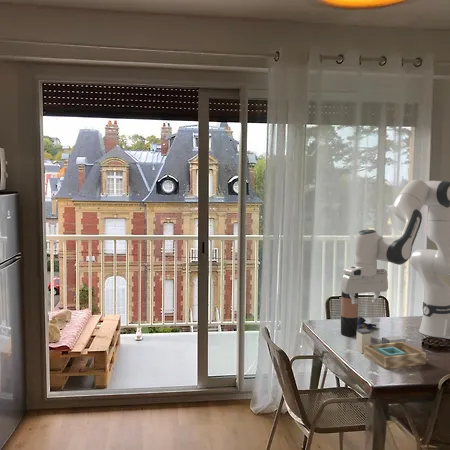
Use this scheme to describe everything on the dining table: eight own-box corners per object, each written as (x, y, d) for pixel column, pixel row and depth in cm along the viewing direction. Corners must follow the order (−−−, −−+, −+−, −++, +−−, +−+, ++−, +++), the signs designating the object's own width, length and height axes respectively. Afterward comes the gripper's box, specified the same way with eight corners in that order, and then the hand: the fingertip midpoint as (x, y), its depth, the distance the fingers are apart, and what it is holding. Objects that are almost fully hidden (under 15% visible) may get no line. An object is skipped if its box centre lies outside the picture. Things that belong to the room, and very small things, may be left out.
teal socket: (393, 355, 186) (393, 346, 185) (405, 361, 179) (406, 353, 178) (377, 357, 183) (377, 348, 183) (389, 363, 176) (389, 354, 176)
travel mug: (357, 337, 211) (359, 293, 209) (340, 336, 212) (341, 292, 211) (356, 332, 218) (357, 290, 217) (339, 331, 220) (341, 289, 218)
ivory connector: (364, 349, 195) (365, 328, 194) (370, 352, 191) (370, 331, 190) (356, 350, 194) (356, 329, 193) (361, 353, 190) (362, 331, 189)
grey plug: (399, 344, 201) (399, 335, 201) (405, 347, 197) (405, 338, 197) (381, 346, 198) (381, 337, 198) (387, 349, 195) (387, 340, 194)
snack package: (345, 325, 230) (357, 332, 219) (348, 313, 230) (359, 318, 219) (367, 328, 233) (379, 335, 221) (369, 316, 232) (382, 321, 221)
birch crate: (401, 351, 192) (402, 341, 192) (425, 364, 179) (426, 353, 178) (363, 356, 187) (364, 345, 186) (385, 369, 173) (385, 357, 173)
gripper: (382, 267, 196) (381, 299, 197) (339, 269, 190) (338, 302, 191) (392, 270, 190) (390, 303, 191) (348, 271, 184) (346, 306, 185)
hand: (364, 303), depth 191 cm, fingers open, 8 cm apart
